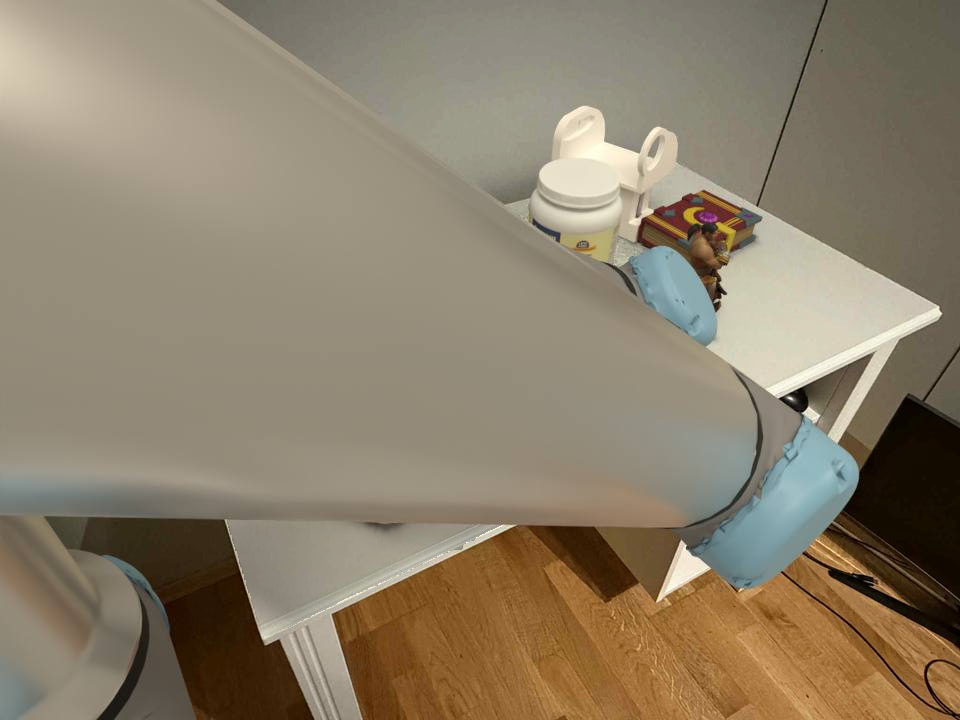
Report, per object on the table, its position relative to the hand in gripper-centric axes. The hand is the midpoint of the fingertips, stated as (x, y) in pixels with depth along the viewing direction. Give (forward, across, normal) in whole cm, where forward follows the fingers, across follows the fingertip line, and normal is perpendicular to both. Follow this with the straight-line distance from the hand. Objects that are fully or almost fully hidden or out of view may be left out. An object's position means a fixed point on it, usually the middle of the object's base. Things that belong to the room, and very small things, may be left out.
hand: (347, 481), depth 63 cm
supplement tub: (-11, +40, -16) cm, 45 cm away
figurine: (-23, +34, -28) cm, 50 cm away
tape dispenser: (-15, +58, -20) cm, 63 cm away
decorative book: (-25, +55, -30) cm, 67 cm away
